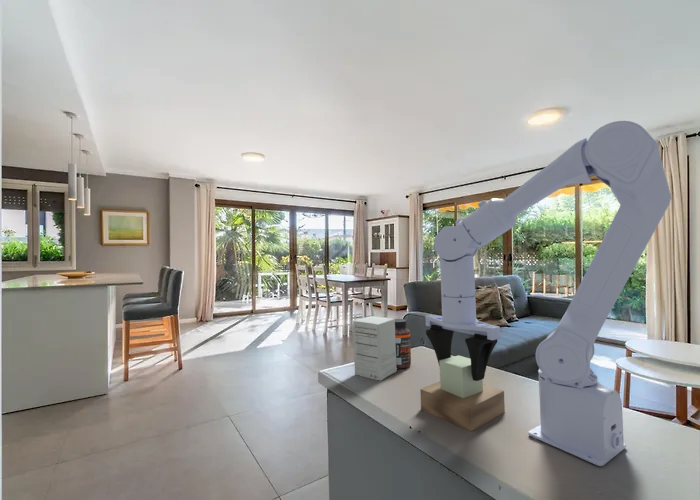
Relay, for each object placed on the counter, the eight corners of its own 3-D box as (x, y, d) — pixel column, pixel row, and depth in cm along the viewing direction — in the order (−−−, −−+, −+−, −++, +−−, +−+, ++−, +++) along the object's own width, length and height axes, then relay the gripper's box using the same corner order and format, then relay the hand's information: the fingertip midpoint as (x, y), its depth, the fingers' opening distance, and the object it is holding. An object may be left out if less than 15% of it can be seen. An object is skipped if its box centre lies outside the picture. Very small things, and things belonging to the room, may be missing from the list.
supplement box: (371, 366, 84) (370, 315, 84) (397, 372, 79) (395, 318, 79) (353, 375, 78) (351, 320, 78) (380, 381, 73) (378, 323, 73)
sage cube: (482, 391, 58) (481, 361, 58) (463, 398, 55) (462, 367, 55) (459, 382, 62) (458, 355, 62) (440, 388, 59) (439, 360, 60)
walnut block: (504, 414, 58) (503, 390, 58) (471, 434, 52) (470, 408, 52) (455, 396, 66) (454, 375, 66) (421, 411, 60) (420, 388, 60)
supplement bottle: (404, 371, 79) (402, 323, 80) (382, 366, 83) (381, 320, 83) (415, 364, 84) (413, 319, 84) (394, 360, 88) (393, 317, 88)
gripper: (510, 297, 55) (513, 380, 55) (442, 290, 67) (444, 359, 67) (482, 301, 51) (486, 390, 51) (416, 293, 64) (418, 365, 63)
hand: (460, 373), depth 59 cm, fingers open, 7 cm apart
